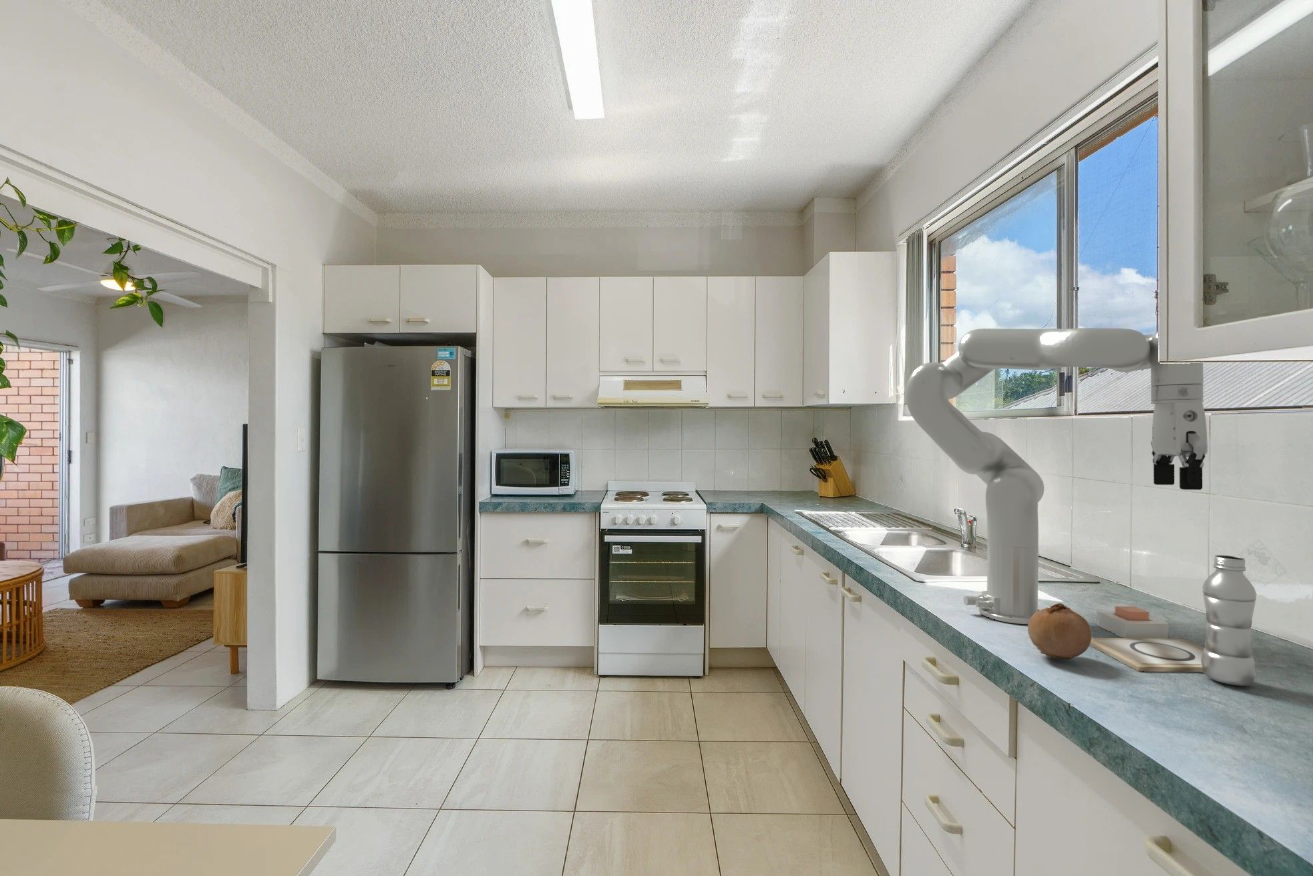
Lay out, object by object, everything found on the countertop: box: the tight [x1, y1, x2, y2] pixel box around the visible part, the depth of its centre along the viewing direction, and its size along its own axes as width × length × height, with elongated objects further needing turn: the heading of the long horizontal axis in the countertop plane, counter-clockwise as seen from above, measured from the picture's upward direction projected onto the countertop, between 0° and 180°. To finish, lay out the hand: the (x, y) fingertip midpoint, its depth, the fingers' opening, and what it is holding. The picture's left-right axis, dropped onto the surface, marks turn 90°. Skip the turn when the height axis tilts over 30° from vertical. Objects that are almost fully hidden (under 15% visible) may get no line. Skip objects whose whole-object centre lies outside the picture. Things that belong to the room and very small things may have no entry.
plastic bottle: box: [1201, 554, 1257, 687], centre depth 99 cm, size 6×7×20 cm
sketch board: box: [1089, 637, 1205, 673], centre depth 111 cm, size 18×14×1 cm
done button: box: [1114, 605, 1150, 621], centre depth 124 cm, size 4×4×3 cm
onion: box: [1027, 602, 1093, 661], centre depth 109 cm, size 10×9×10 cm
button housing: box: [1096, 610, 1169, 639], centre depth 124 cm, size 8×8×3 cm
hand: (1176, 487), depth 117 cm, fingers open, 9 cm apart
